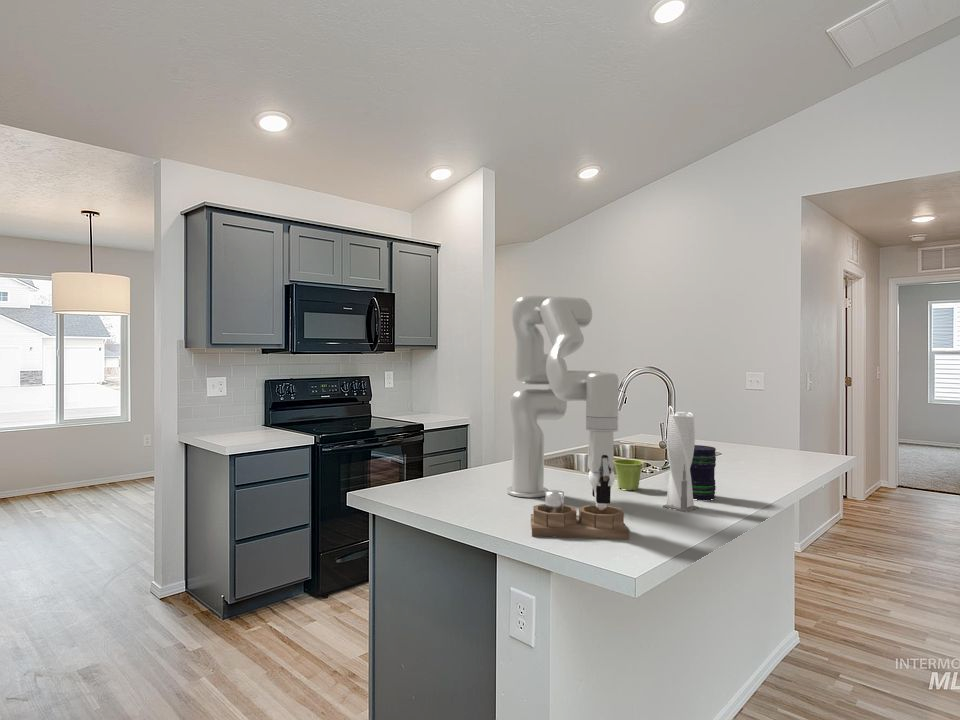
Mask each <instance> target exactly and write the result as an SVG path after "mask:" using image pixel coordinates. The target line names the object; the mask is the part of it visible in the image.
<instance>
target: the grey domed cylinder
mask: <svg viewBox="0 0 960 720" xmlns="http://www.w3.org/2000/svg"><path fill="white" fill-rule="evenodd" d="M544 504H545V512H547V513H564V505H565V492H564V491H562V490H560V489H559V490H558V489H548V491H546V496H545V503H544Z"/></svg>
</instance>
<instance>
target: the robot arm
mask: <svg viewBox="0 0 960 720" xmlns="http://www.w3.org/2000/svg"><path fill="white" fill-rule="evenodd" d="M592 318H593V310H592V306H591V304H590V303H589V301H588V300H587V299H585V298H584V297H576V296H575V297H573V296H548V295H535V294H534V295H530V294H529V295H523V296H520V297H518V298H517V299H516V300H515V301H514V303H513V306H512V309H511V321H512V327H513V330H514V335H515V377H516V380H517V382H519V383H520V384H523V385H528V386H529V385H530V386H531V385H532V386H533V385H535V386H536V385H539V386H540V385H542V386H543V385H545V386H546V385H547V389H545V388H543V389H542V388H541V389H540V388H538V389H537V388H526V389H520V390H517V391H515V392H514V393H513V394H512V395H510V396H511V397H510V399H509V400H510V401H509V408H510V414H511V421H512V472H511V473H512V475H511V476H512V477H511V478H512V480H511V481H512V482H511V483H512V484H511V486H509V487H507V489H506V490H507V491H506V492H507V494H508V495H510V496H513V497H517V498H519V497H520V498H541V497H546V491H548V490H549V489H548V488H547V487H545V485H544V484H545V482H544V481H545V477H544V476H545V475H544V474H545V435H544V431H543V430H542V428H541V426H540V425H539V424H538V422H539V421H553V420H554V421H555V420H556V421H557V420H562V419H563V418H564V417H565V415H566V413H567V408H568V407H567V406H568V402H579V401H580V402H581V401H582V402H586V403H585V405H586V406H585V407H586V408H585V430H586V431H589V434H588V436H589V437H588V448H587V449H588V451H587V468H588V470H589V472H590V471H591V472H592V473H593V474H595V472H597V481H598V486H596V499H595V503H596V502H597V503H602V504H607V505H608V504H609V505H610V504H611V493H612V492H611V488H612V487H611V486H610V474H611V473H612V472H613V471H614V465H615V464H614V458H615V455H614V454H615V453H614V451H615V450H614V447H615V445H614V442H615V440H614V439H615V438H614V437H615V436H614V432H618V431H619V377H618V375H617V374H616V373H615V372H607V371H606V372H605V371H604V372H603V371H598V370H568V365H567V363H566V361H565V359H564V358H566V357H568V356H571V355H572V354H574V353H576V352H577V351H578V350H579V349H581V348H582V347H583V344H584V342H585V338H584V334H583V332H582V330H581V328H586V327H587V326H589V325H590V324H591V322H592ZM537 325H544V327H545V330H546V332H547V335H548V338H549V340H550V342H551V345H552V347H551V349H550V351H549V352H548V353H545V339H544V335H543V333H542V332H541V330H540V329H539V327H538V326H537ZM609 467H610V469H611V470H610V469H609ZM599 470H603V472H599ZM600 476H601V477H600ZM592 497H594V498H595V494H594V489H593V488H592Z"/></svg>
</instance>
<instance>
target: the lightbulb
mask: <svg viewBox="0 0 960 720" xmlns="http://www.w3.org/2000/svg"><path fill="white" fill-rule="evenodd" d="M609 469H610V467H609ZM610 470H611V469H610ZM599 472H603V470H599ZM600 477H601V476H600ZM615 477H616V474H615V472H614V470H613V472H612V473H611V474H610V486H611V488H612V486H613V485H614V482H615V479H616V478H615ZM588 480H589V483H590V485H591V486H592V490H593V489H594V494H595V497H594V500H596V486H598V481H597V472H595V474H593V473H592V472H591V471H590V470H589V472H588ZM595 505H596V507H597V508H599V510H604V509H605V508H606V507H607V505H608V504H602V503H597V502H596V501H595Z"/></svg>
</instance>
